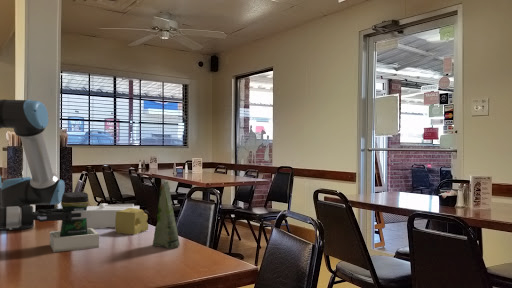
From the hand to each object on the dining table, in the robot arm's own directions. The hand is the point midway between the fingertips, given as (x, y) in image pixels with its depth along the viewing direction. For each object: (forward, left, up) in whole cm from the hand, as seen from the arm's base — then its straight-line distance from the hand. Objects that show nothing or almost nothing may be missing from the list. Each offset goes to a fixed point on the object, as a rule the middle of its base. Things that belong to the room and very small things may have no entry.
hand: (88, 212), depth 158 cm
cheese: (-16, +21, -13) cm, 29 cm away
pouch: (+17, +25, -13) cm, 33 cm away
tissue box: (-38, +17, -13) cm, 43 cm away
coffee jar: (0, -5, -11) cm, 12 cm away
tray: (0, -5, -12) cm, 13 cm away
